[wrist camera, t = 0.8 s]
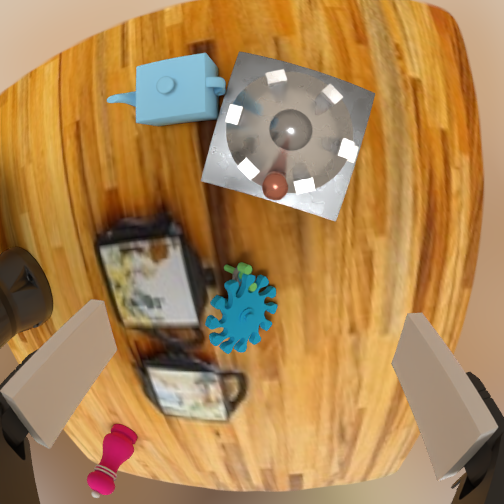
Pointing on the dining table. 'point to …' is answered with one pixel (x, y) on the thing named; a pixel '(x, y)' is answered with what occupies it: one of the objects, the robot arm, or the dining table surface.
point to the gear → (241, 309)
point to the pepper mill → (112, 459)
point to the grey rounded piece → (289, 133)
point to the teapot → (175, 91)
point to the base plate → (230, 176)
